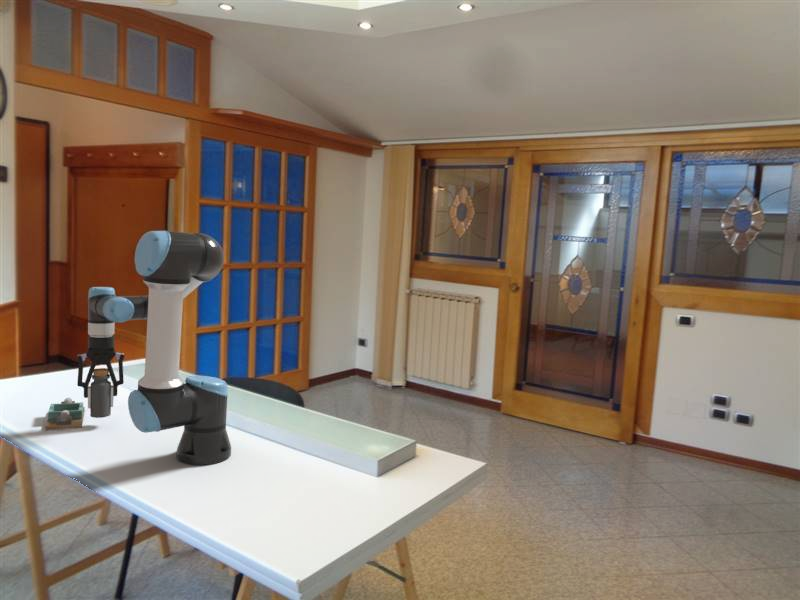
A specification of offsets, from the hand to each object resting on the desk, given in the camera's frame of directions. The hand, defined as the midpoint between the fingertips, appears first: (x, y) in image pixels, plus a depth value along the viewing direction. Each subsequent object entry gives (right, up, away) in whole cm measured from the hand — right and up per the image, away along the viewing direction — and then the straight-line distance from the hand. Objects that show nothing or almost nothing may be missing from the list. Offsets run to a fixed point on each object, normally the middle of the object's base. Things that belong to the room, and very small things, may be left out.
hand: (100, 406), depth 188 cm
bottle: (0, -3, 0) cm, 3 cm away
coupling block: (-14, -5, +5) cm, 16 cm away
